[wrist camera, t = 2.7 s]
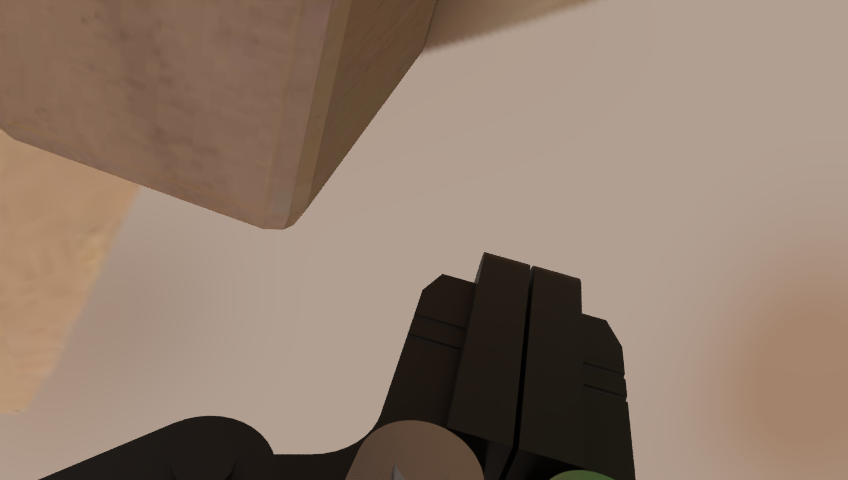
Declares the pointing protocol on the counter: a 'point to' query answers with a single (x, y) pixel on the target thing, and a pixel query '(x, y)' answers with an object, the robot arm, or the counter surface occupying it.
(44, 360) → the counter surface
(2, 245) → the counter surface
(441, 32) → the counter surface
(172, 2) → the wooden block
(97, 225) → the counter surface
